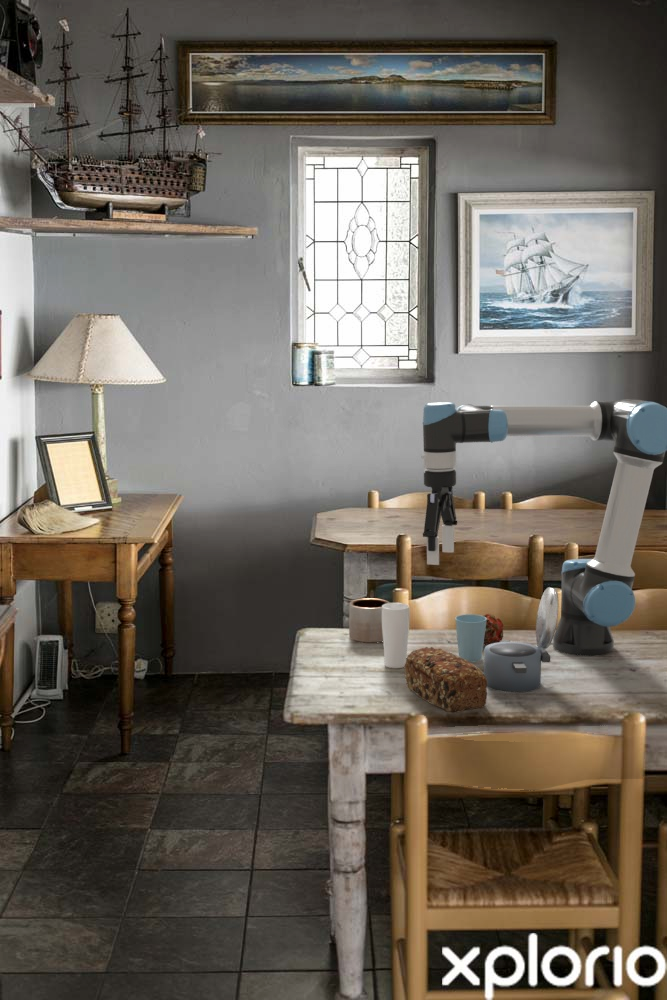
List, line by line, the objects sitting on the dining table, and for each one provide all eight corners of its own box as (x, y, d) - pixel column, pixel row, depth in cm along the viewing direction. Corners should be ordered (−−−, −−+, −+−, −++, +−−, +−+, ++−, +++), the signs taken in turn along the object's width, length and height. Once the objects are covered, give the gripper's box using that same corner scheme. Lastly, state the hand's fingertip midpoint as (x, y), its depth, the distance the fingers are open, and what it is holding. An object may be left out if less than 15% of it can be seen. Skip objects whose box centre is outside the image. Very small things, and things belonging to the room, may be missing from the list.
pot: (537, 668, 270) (538, 636, 268) (556, 698, 249) (557, 663, 248) (477, 669, 270) (477, 637, 268) (491, 699, 249) (491, 664, 247)
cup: (454, 663, 275) (454, 621, 273) (455, 653, 282) (455, 613, 280) (485, 664, 274) (486, 622, 272) (485, 654, 281) (486, 614, 279)
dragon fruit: (490, 657, 284) (478, 650, 296) (516, 636, 285) (503, 630, 297) (470, 631, 284) (459, 625, 295) (496, 610, 284) (484, 605, 296)
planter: (391, 644, 291) (391, 608, 289) (349, 644, 291) (349, 608, 289) (389, 632, 301) (389, 597, 300) (349, 632, 302) (349, 598, 300)
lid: (532, 640, 265) (541, 641, 265) (544, 657, 251) (554, 659, 251) (544, 581, 263) (554, 582, 263) (557, 595, 249) (567, 597, 249)
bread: (403, 690, 255) (403, 647, 254) (443, 683, 260) (443, 641, 259) (448, 715, 239) (448, 670, 237) (489, 707, 244) (490, 663, 242)
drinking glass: (407, 670, 269) (407, 610, 266) (379, 669, 270) (379, 608, 268) (411, 662, 275) (411, 603, 273) (383, 660, 276) (383, 601, 274)
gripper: (438, 461, 274) (439, 546, 278) (409, 476, 251) (410, 568, 255) (468, 462, 271) (468, 548, 275) (441, 477, 248) (442, 570, 252)
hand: (440, 558), depth 265 cm, fingers open, 13 cm apart
